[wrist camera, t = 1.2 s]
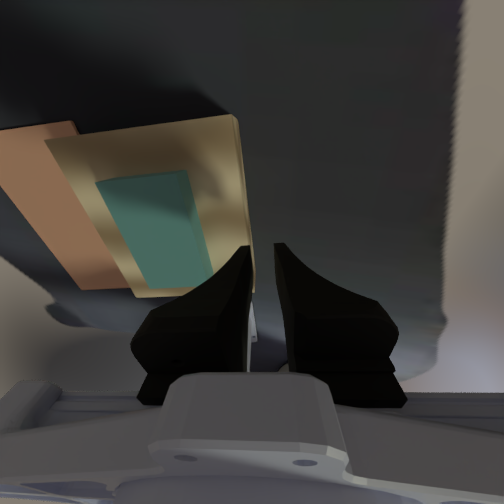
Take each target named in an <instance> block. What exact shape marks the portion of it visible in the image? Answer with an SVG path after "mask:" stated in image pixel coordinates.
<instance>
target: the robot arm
mask: <svg viewBox="0 0 504 504" xmlns="http://www.w3.org/2000/svg"><path fill="white" fill-rule="evenodd" d="M274 259H275V275H276V285H277V290H278V295H279V299H280V304H281V309H282V314H283V320H284V328H285V337H286V347H287V357H288V366H289V372H250V359H251V342H257V332H256V325H255V319H254V312H253V305H252V301H251V299H252V291H253V278H254V271H253V263H252V255H251V247H250V245H244V246H240V247H239V248H238V249H237V250H236V252H235V253H234V254H233V255H232V257H231V258H230V259H229V260H228V261H227V262H226V263H225V264H224V265H223V266H222V267H221V268H220V269H219V270H218V271H217V272H216V273H215V274H214V275H213V276H211V277H210V278H209V279H208V280H206V281H205V282H203V283H202V284H200V285H199V286H197V287H196V288H194V289H193V290H191V291H190V292H188V293H186V294H184V295H182V296H181V297H179V298H177V299H175V300H173V301H171V302H169V303H166V304H164V305H162V306H160V307H158V308H155V309H153V310H151V311H150V312H149V314H148V315H147V317H146V318H145V320H144V322H143V323H142V325H141V326H140V328H139V329H138V331H137V332H136V334H135V335H134V337H133V338H132V341H131V343H130V345H131V351H132V353H133V354H134V356H135V358H136V359H137V360H138V362H139V363H140V364H141V366H142V367H143V368H144V369H145V371H146V372H147V373H148V374H147V376H146V379H145V380H144V383H143V384H142V387H141V389H140V391H62V389H61V388H60V387H59V386H58V385H56V384H55V383H53V382H49V381H44V380H26V381H25V380H23V381H19V382H17V383H16V384H15V385H14V386H13V387H12V388H11V389H10V391H8V392H7V393H6V394H5V395H4V396H3V397H2V398H1V400H0V497H4V498H17V499H29V500H41V501H51V502H61V503H71V504H504V393H416V392H415V393H414V392H408V393H406V392H403V390H402V388H401V386H400V385H399V383H398V381H397V379H396V377H395V376H394V374H393V373H394V372H395V367H394V365H393V364H392V362H391V360H390V358H389V356H390V354H391V352H392V350H393V348H394V346H395V344H396V342H397V340H398V336H399V331H398V327H397V326H396V325H395V323H394V322H393V320H392V319H391V318H390V316H389V315H388V313H387V312H386V311H385V310H384V308H383V307H382V306H381V305H380V304H379V303H378V301H375V300H372V299H370V298H367V297H364V296H361V295H359V294H356V293H353V292H351V291H349V290H346V289H344V288H342V287H340V286H338V285H336V284H334V283H332V282H330V281H328V280H326V279H325V278H323V277H321V276H320V275H318V274H317V273H315V272H314V271H312V270H311V269H310V268H308V267H307V266H306V265H305V264H304V263H302V262H301V261H300V260H299V259H298V258H297V257H296V256H295V255H294V254H293V253H292V252H291V250H290V249H289V248H288V247H287V246H286V244H285V243H274Z"/></svg>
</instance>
